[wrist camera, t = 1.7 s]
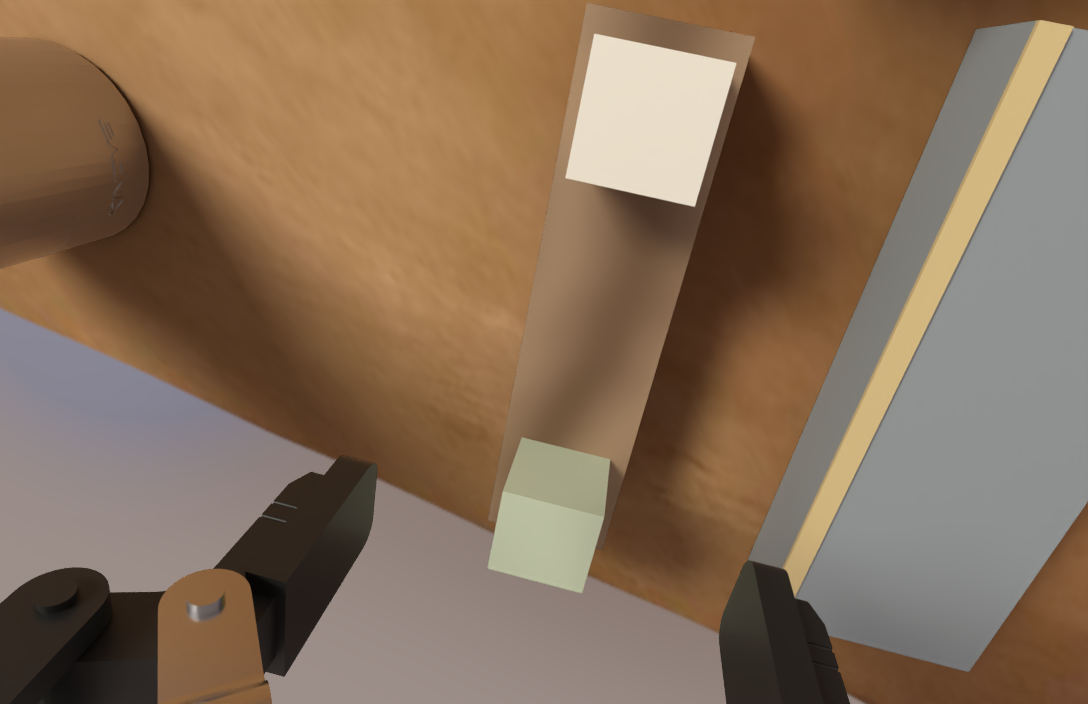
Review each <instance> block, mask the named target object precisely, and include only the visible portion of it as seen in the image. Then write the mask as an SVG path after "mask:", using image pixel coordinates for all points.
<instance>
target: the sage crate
mask: <svg viewBox="0 0 1088 704" xmlns="http://www.w3.org/2000/svg"><path fill="white" fill-rule="evenodd" d="M609 466H610V459H607V458H603V457H599V456H595V455H591V454H587V453H583V452H579V451H575V450H571V449H567V448H563V447H559V446H555V445H551V444H547V443H543V442H539V441H535V440H531V439H527V438H523V437H522V438H521V441H520V444H519V447H518V450H517V453H516V455H515V458H514V461H513V464H512V467H511V469H510V472H509V475H508V478H507V481H506V484H505V486H504V489H503V493H502V498H501V503H500V508H499V513H498V518H497V523H496V528H495V533H494V538H493V543H492V548H491V553H490V558H489V563H488V569H491V570H495V571H498V572H502V573H506V574H510V575H514V576H517V577H521V578H525V579H529V580H533V581H536V582H540V583H544V584H548V585H552V586H556V587H559V588H564V589H567V590H571V591H575V592H578V593H582V592H583V588H584V585H585V582H586V578H587V575H588V571H589V568H590V564H591V561H592V558H593V554H594V551H595V547H596V544H597V540H598V537H599V534H600V530H601V527H602V523H603V520H604V515H605V505H606V496H607V486H608V476H609Z"/></svg>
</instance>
